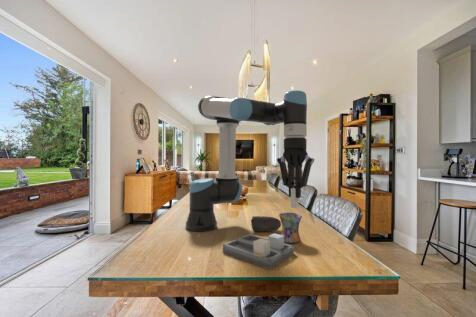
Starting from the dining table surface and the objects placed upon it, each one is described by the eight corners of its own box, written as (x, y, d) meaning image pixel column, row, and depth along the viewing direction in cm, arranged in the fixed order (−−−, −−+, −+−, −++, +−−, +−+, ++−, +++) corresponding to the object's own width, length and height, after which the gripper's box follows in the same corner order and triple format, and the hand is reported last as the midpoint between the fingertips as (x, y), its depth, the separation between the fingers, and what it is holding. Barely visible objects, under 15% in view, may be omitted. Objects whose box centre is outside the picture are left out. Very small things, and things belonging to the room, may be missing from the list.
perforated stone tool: (279, 228, 113) (279, 214, 113) (283, 232, 108) (283, 217, 108) (249, 229, 111) (249, 215, 111) (251, 233, 106) (251, 218, 106)
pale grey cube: (268, 248, 84) (268, 236, 84) (274, 245, 87) (274, 233, 87) (278, 251, 81) (278, 238, 81) (283, 247, 84) (283, 235, 84)
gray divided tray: (222, 251, 84) (222, 244, 84) (249, 240, 97) (249, 233, 97) (269, 269, 72) (269, 260, 71) (293, 253, 84) (294, 245, 84)
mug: (303, 245, 92) (303, 218, 92) (279, 244, 92) (280, 217, 92) (298, 235, 104) (298, 211, 104) (277, 234, 104) (277, 210, 104)
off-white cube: (253, 254, 78) (253, 241, 78) (260, 251, 81) (260, 238, 81) (263, 258, 75) (263, 244, 75) (269, 254, 79) (270, 241, 78)
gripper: (272, 137, 80) (272, 206, 80) (308, 135, 72) (308, 212, 72) (283, 139, 86) (283, 203, 86) (318, 137, 78) (317, 208, 78)
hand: (294, 207), depth 79 cm, fingers closed
